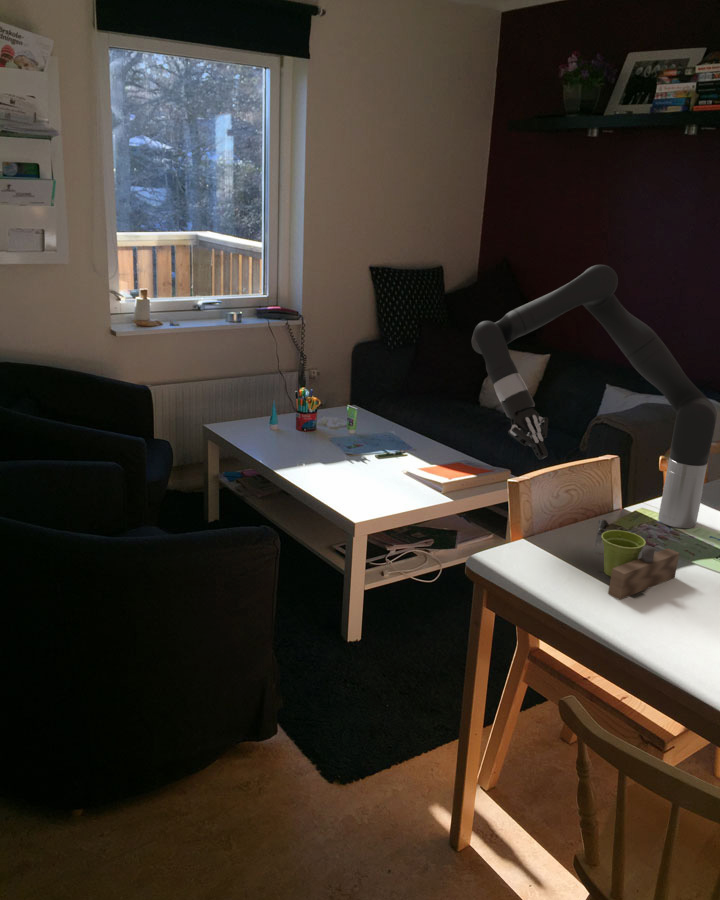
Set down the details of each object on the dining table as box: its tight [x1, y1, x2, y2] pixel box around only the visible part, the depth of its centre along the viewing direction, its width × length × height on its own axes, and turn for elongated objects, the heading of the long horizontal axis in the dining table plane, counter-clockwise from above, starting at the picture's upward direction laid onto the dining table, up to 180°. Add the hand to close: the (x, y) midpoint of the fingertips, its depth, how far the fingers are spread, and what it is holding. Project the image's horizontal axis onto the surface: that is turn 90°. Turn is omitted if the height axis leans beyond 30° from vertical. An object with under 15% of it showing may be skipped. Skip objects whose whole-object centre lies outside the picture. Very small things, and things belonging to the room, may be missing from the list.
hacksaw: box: [594, 519, 629, 556], centre depth 197 cm, size 24×10×2 cm, turn 160°
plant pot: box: [601, 529, 646, 578], centre depth 179 cm, size 9×9×9 cm
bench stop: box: [607, 545, 680, 600], centre depth 174 cm, size 20×3×9 cm, turn 126°
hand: (543, 457), depth 198 cm, fingers closed
